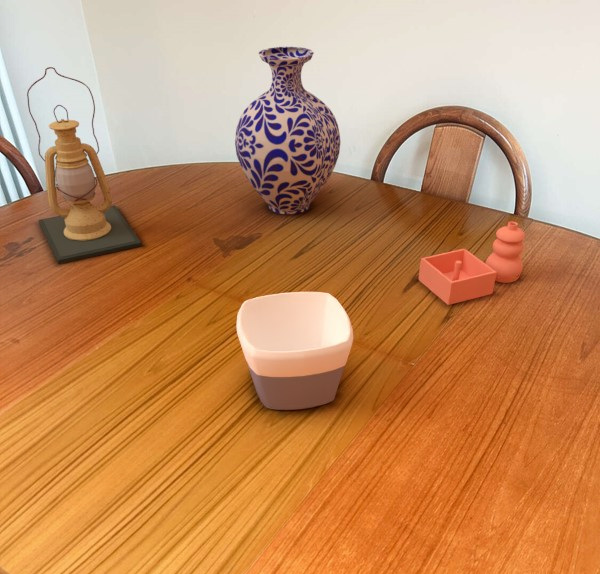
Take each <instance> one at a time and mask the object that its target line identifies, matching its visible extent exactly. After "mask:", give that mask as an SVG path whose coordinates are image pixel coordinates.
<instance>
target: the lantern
mask: <svg viewBox="0 0 600 574" xmlns="http://www.w3.org/2000/svg"><path fill="white" fill-rule="evenodd" d="M44 69H45V70H44V75H42V77H39V79H37V80H36V81H34V82H33V83H32V84H31V85H30V86H29V88H28V89H27V92H26V98H27V106H28V107H27V108H28V113H29V114H30V117H31V119H32V121H33V123H34V126H35V129H36V132H37V135H38V144H37V145H38V147H37V148H38V155H39V156H40V158H41V159H42V160H43V162H44V166H45V182H46V183H45V185H46V193H47V194H46V195H47V200H48V205H49V208H50V210H51V211H52V212H53V214H55V215H56V216H62V217H65V224H66V228H65V229H64V235H65V236H66V237H67V238H68V239H71V240H77V241H88V240H93V239H97V238H99V237H102V236H104V235H106V234H107V233H108V232H109V231H110V230H111V225H110V224H109V223H108V222H107V221H106V218H105V214H104V213H103V212H104V211H107V210H108V209H109V208H110V206H113V193H112V190H111V187H110V185H109V181H108V179H107V177H106V173H105V172H104V170H103V166H102V163H101V161H100V159H99V156H98V154H99V152H100V147H99V146H100V145H99V142H98V139H97V137H96V135H95V128H94V119H95V113H96V111H95V110H96V105H95V100H94V99H95V98H94V96H93V93H92V91H91V89H90V87H89V86H88V85H87V84H85V83H84V82H82V81H80V80H78V79H75V78H71V77H68V76H65V75H62V74H60V73H59V72H58V71H57V69H56V68H55V67H52V66H49V67H46V68H44ZM49 69H50V70H51V69H53V71H54V73H55V74H56V75H58V76H60V77H62V78H65V79H69V80H72V81H75V82H78V83H80V84H82V85H83V86H85V87H86V88H87V90H88V91H89V94H90V96H91V99H92V104H93V105H92V106H93V112H92V113H93V114H92V118H91V129H92V135H93V137H94V140H95V142H96V146H97V152H96V150H95V149H94V147H92V146H91V145H90V144H88V143H84V142H83V143H82V141H81V138H80V137H78V136H77V135H76V133H77V128H78V127H79V126H80V122H79V121H78V120H75V119H69V112H68V109H67V108H65V107H64V106H63V105H61V104H57V105H56V106H55V107H54V108H53V116H54V118H55V121H53V122H51V123H49V124H48V128H49V129H50V130H52V131H53V132H54V134H55V136H56V137H57V139H55V140H54V145H53V146H51V147H49V148H47V150H46V152H45V154H44V157H43V156H42V155H41V149H40V145H41V134H40V131H39V129H38V125H37V122H36V120H35V118H34V116H33V114H32V112H31V107H30V96H29V93H30V90H32V88H33V87H34V86H35V85H36V83H38V82H40V81H41V80H43V79H44V78H45V77H46V76H47V71H48V70H49ZM58 107H62V109H64V110H65V112H66V119H64V118H61V119H59V120H58V118H57V115H56V113H55V110H56V109H57V108H58ZM89 161H90V163H89ZM98 184H99V187H100V190H101V194H102V197H103V202H102V203H100V204H97V205H95V204H94V203H92V202H91V201H92V200H94V198H95V196H96V192H95V191H96V187H97V186H98ZM57 191H59V193H60V194H61V196H62V197H63V199H64V200H65V202H67V203H69V204H72V205H71V206H70V208H62V207H60V206H59V204H58V195H57Z"/></svg>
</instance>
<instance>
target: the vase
mask: <svg viewBox="0 0 600 574" xmlns="http://www.w3.org/2000/svg"><path fill="white" fill-rule="evenodd" d="M258 55H259V58H260V59H261V61H262V62H264V63H266V64H268V65H269V67H270V70H271V76H272V77H271V84H270V87H269V89H268V90H267V91H265V92H263V93H262V94H260V95H259V96H258V97H257V98H256V99H254V100H253V101H252V102H250V104H248V106H247V107H246V108H245V109H244V110H243V112H242V114H241V115H240V117H239V119H238V122H237V124H236V129H235V140H234V144H235V145H234V146H235V153H236V158H237V161H238V163H239V166H240V168H241V170H242V171H243V173H244V175H245V177H246V179H247V180H248V182H249V183H250V185H251V186H252V187H253V189H254V190H255V191H256V193H257V194H258V195H259V196H260V198H262V199H263V201H264V202H265V203H266V204H267V205H268V208H269V209H270V211H272V212H274V213H277V214H282V215H297V214H300V213H303V212H306V211H307V210H308V209H309V208H310V204H311V203H312V202H313V201H314V199H315V198H316V197H317V196H318V195H319V193H320V192H321V190H322V189H324V187H325V186H326V183H327V182H328V180H329V179H330V177H331V176H332V173H333V172H334V169H335V168H336V165H337V162H338V159H339V156H340V152H341V151H340V150H341V132H340V127H339V124H338V121H337V119H336V116H335V115H334V113H333V112H332V110H331V108H330V107H328V105H326V104H325V102H323V100H321V99H320V98H319V97H317V96H316V95H314V94H313V93H311V92H310V91H307V90H306V89H305V88H304V86H303V81H302V70H303V67H304V65H305V64H306V63H308V62H310V61H311V60H312V59H313V56H314V51H313V50H312V49H309V48H305V47H300V46H275V47H268V48H265V49H262V50H260V51H259V52H258Z"/></svg>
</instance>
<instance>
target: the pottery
mask: <svg viewBox="0 0 600 574" xmlns="http://www.w3.org/2000/svg"><path fill="white" fill-rule="evenodd" d="M518 225H519V223H518V222H516V221H508V222H507V225H505V226H502V227H500V228H498V229H497V230H496V233H495V236H496V239H495V240H493V243H492V250H493V252H492V253H490V255H489V256H488V257H487V258H486V260H485V262H484V261H482V260H481V259H479V257H477V256H476V255H474V254H473V253H471V252H470V251H469V250H467V249H466V248H460V249H456V250H452V251H448V252H443V253H439V254H434V255H430V256H425V257H421V258H420V263H419V272H418V278H417V279H418V281H419V282H420V283H422V284H423V286H425V287H426V288H427V289H428V290H430V291H431V292H432V293H433V294H434V295H435V296H437V297H438V298H439V299H440V300H442V302H444V303H445V304H446V305H447V306H451V305H453V304H458V303H461V302H465V301H470V300H473V299H477V298H481V297H485V296H489V295H493V292H494V287H495V282H497V283H503V284H505V283H506V284H507V283H508V284H509V283H513V282H516V281H518V279H519V278H520V276H521V275H522V272H523V269H524V263H523V259H522V258H521V255H522V254H523V251H524V243H523V241H524V240H525V239H526V233H525V231H523V229H522V228H520V227H518ZM518 275H519V276H518ZM516 276H518V277H516ZM498 277H499V278H498ZM512 277H515V278H512Z"/></svg>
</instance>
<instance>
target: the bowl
mask: <svg viewBox="0 0 600 574" xmlns="http://www.w3.org/2000/svg"><path fill="white" fill-rule="evenodd" d="M235 323H236V333H237V334H236V335H237V337H238V341H239V344H240V346H241V350H242V353H243V356H244V359H245V361H246V364H247V367H248V370H249V373H250V376H251V379H252V382H253V385H254V388H255V391H256V394H257V396H258V399H259V400H260V402H261V404H263V406H264V407H265V408H267V409H270V410H278V411H279V410H280V411H283V410H284V411H287V410H289V411H291V410H294V411H295V410H304V409H309V408H315V407H319V406H322V405H327V404H329V403H331V402H333V401H335V398H336V396H337V395H336V394H337V391H338V388H339V385H340V384H341V383H340V382H341V379H342V377H343V373H344V370H345V367H346V365H347V362H348V359H349V355H350V353H351V351H352V350H351V349H352V347H353V342H354V329H353V325H352V322H351V319H350V317H349V315H348V313H347V312H346V310H345V308H344V307H343V306H342V304H341V303H340V301H338V299H337V298H336V297H334V296H333V295H332V294H330V293H328V292H321V291H295V292H293V291H291V292H281V293H280V292H279V293H274V294H266V295H262V296H256V297H254V298H249V299H247V300H244V302H242V304H241V306H240V307H239V310H238V311H237V316H236V322H235Z"/></svg>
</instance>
